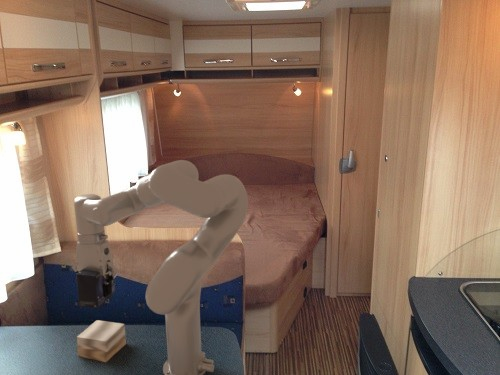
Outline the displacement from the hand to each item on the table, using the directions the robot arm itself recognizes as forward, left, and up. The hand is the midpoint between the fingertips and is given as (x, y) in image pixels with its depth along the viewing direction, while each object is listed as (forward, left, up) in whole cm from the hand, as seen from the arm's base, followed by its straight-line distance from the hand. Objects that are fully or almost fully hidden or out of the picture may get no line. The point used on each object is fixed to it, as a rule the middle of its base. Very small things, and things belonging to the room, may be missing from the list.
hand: (97, 293), depth 131 cm
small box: (0, 0, -3) cm, 3 cm away
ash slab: (0, 0, -16) cm, 16 cm away
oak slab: (0, 0, -19) cm, 19 cm away
